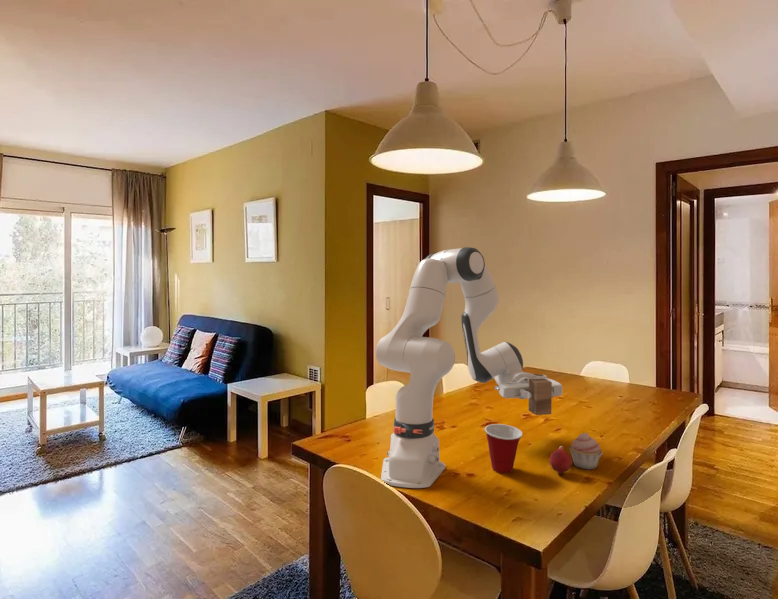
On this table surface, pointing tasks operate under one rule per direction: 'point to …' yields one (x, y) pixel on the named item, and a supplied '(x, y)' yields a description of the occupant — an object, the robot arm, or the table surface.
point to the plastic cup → (502, 446)
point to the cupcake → (585, 452)
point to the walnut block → (540, 396)
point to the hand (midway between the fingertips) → (541, 395)
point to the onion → (560, 460)
